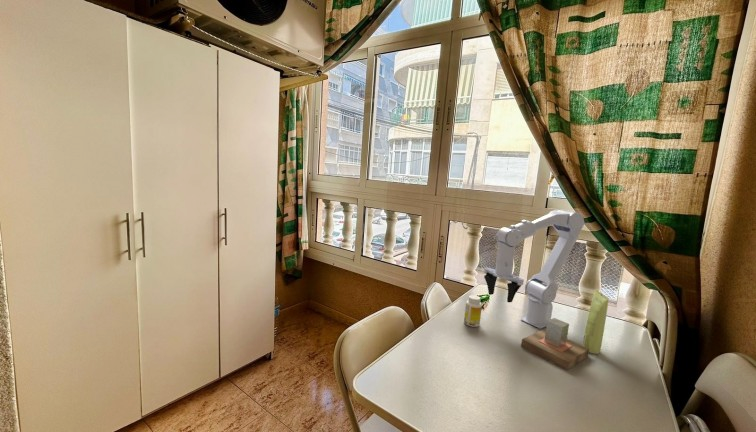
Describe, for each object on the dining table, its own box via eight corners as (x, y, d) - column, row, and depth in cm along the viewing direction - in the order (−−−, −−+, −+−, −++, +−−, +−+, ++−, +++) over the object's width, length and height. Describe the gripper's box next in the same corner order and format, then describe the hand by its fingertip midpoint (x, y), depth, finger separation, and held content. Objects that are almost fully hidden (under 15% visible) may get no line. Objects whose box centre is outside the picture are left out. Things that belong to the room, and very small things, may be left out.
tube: (605, 352, 100) (615, 294, 98) (598, 357, 98) (608, 297, 95) (585, 344, 105) (595, 288, 102) (578, 348, 102) (588, 291, 100)
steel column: (551, 338, 102) (554, 317, 101) (565, 344, 98) (569, 323, 97) (544, 341, 99) (547, 320, 98) (559, 348, 96) (562, 327, 95)
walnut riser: (543, 335, 109) (544, 328, 109) (587, 356, 98) (589, 348, 97) (521, 346, 101) (522, 338, 100) (567, 370, 90) (568, 361, 89)
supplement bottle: (482, 325, 114) (485, 298, 112) (473, 329, 110) (477, 301, 109) (469, 319, 118) (472, 293, 117) (460, 322, 114) (463, 296, 113)
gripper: (480, 257, 115) (476, 292, 117) (517, 268, 103) (512, 307, 105) (492, 255, 119) (488, 289, 121) (528, 266, 107) (523, 303, 109)
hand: (500, 297), depth 113 cm, fingers open, 7 cm apart
